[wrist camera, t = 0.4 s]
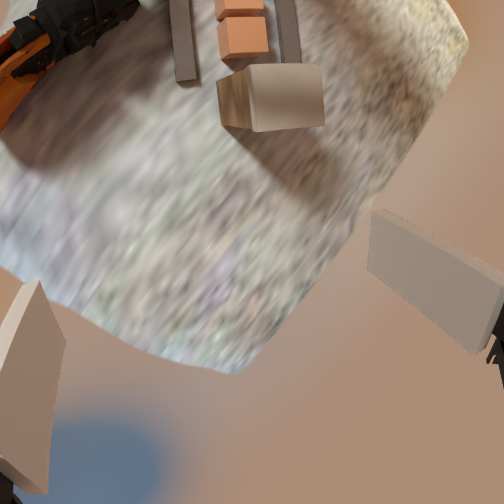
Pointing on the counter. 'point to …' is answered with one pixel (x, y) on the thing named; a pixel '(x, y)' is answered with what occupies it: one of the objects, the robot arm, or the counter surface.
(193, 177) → the counter surface
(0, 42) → the tool
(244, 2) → the orange cube piece
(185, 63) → the slot rails
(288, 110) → the light brown tall block
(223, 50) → the orange cubic piece
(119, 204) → the counter surface
